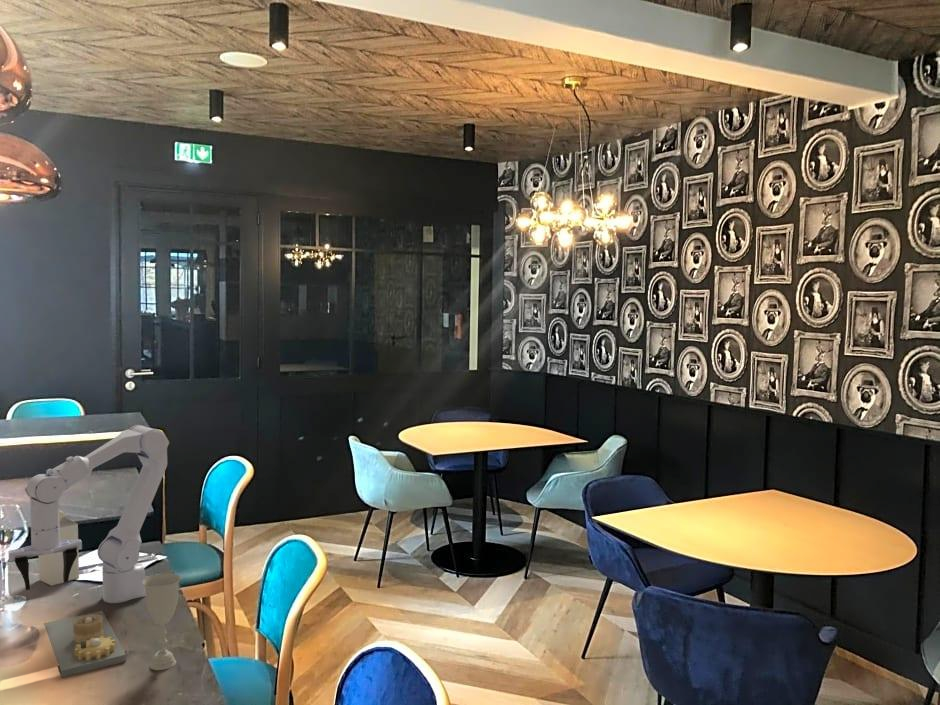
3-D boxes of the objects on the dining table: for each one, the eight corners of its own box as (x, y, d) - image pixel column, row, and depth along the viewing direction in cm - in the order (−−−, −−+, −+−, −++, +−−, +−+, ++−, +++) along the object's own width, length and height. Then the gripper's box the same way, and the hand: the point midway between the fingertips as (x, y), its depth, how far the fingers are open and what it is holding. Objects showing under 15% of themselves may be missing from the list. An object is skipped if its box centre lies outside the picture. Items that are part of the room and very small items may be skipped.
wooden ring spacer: (100, 629, 166) (100, 612, 166) (105, 639, 162) (104, 621, 161) (72, 636, 163) (71, 618, 162) (76, 646, 158) (76, 628, 158)
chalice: (145, 675, 150) (143, 588, 148) (142, 660, 156) (141, 577, 154) (183, 667, 153) (182, 582, 152) (180, 653, 159) (178, 571, 158)
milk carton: (66, 572, 203) (64, 504, 202) (79, 578, 199) (77, 509, 198) (38, 580, 198) (36, 510, 196) (51, 586, 194) (49, 515, 192)
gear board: (102, 616, 176) (101, 591, 176) (126, 661, 155) (125, 633, 155) (44, 629, 169) (43, 603, 169) (61, 677, 148) (60, 648, 148)
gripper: (9, 537, 162) (11, 597, 163) (83, 526, 171) (84, 583, 172) (7, 529, 168) (8, 587, 169) (78, 518, 177) (79, 574, 178)
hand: (46, 584), depth 171 cm, fingers open, 7 cm apart
